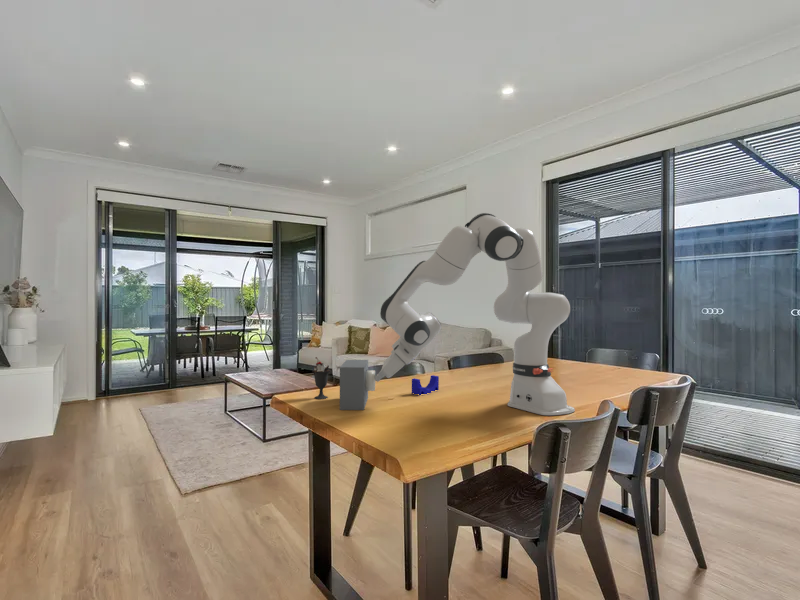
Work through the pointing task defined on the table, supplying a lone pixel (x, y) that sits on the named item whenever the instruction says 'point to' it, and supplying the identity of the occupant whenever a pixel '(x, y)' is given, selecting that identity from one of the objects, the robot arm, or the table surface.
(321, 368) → the sundae
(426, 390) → the blue u-shaped block
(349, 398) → the block
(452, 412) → the table surface
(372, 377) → the knob
